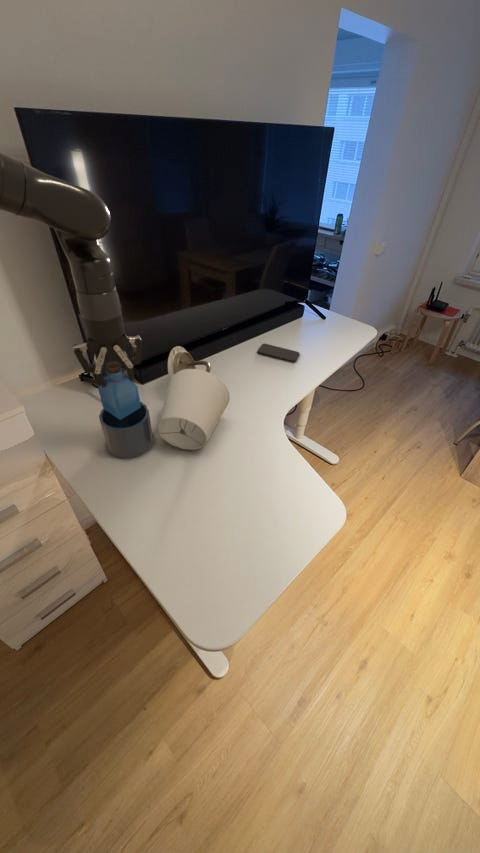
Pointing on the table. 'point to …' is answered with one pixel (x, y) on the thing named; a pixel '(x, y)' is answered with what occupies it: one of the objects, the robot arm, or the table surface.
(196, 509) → the table surface
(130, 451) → the holder
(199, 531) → the table surface
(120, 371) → the perfume bottle
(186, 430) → the light fixture
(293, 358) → the phone
